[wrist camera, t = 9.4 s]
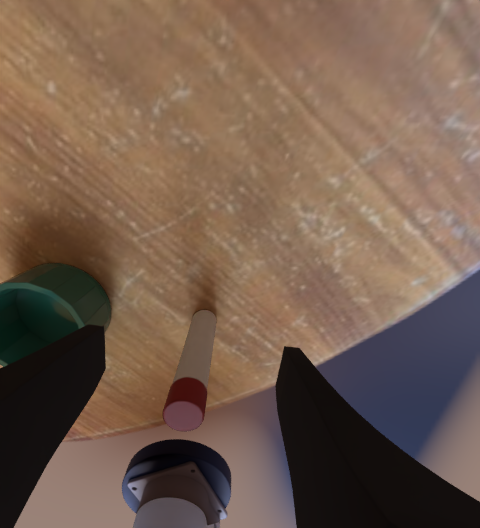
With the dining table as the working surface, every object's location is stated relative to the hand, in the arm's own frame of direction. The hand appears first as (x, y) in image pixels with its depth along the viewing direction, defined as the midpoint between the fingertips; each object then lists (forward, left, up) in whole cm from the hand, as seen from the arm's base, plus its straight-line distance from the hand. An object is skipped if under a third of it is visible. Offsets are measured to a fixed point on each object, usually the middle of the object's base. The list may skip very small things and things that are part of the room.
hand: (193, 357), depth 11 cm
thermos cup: (+2, +11, -9) cm, 14 cm away
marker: (-3, +2, -9) cm, 10 cm away
